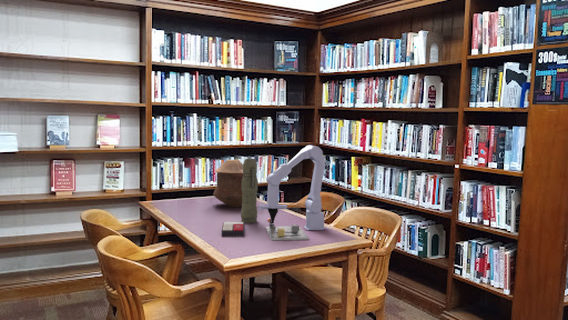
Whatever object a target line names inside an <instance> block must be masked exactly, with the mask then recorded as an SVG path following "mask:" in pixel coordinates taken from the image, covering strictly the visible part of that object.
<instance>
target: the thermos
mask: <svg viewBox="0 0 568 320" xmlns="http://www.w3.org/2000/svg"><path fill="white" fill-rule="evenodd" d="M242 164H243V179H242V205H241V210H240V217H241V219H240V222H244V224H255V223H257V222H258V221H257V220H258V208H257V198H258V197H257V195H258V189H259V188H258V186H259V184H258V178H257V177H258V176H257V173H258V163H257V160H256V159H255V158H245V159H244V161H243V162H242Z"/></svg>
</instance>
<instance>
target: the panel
mask: <svg viewBox="0 0 568 320" xmlns="http://www.w3.org/2000/svg"><path fill="white" fill-rule="evenodd" d="M294 225H298V224H294ZM280 228H284V230H285V236H278V235H277V233H278V229H280ZM265 231H266V232H267V234H268V237H269V238H270V240H271V241H306V240H307V241H308V240H309V236H308V234H306V232H305V230H303V229H302V228H301V226H300V225H298V232H292V231H291V225H290V226H287V225H284V226H283V225H282V226H281V225H279V226H276V225H275V223H273V226H270V224H269V226H265Z"/></svg>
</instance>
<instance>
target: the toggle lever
mask: <svg viewBox="0 0 568 320" xmlns="http://www.w3.org/2000/svg"><path fill="white" fill-rule="evenodd" d="M266 221H267V223H269V224H270V226H273V224H274V223H273V224H272V222H271V218H267V220H266Z"/></svg>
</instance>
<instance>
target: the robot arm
mask: <svg viewBox="0 0 568 320" xmlns="http://www.w3.org/2000/svg"><path fill="white" fill-rule="evenodd" d="M307 159H309V160H311V161H312V163H314V167H313V172H312V179H311V185H310V191H309V193H308V195H307V197H306V200H305V202H304V206H305V208H306V210H305V211H306V212H305V225H303V227H304V229H305V230H306V231H324V230H325V214H324V211H321V210H322V209H323V205H322V197H321V190H322V184H323V178H324V172H325V165H326V160H325V157H324V153H323V150H322V149H321V147H319V146H316V145H313V144H308V145H306V146H305V147H303V148H302V149H300V151H299V152H298V153H297V154H296V155H295V156H293V158H291V159H290V160H289V161H288V162H287V163H282V164H280V165H279V167H278V168H277V169H276V170H273V171H272V173H269V174H268V175H267V177H266V183H267V199H266V200H267V204H258V210H267V212H268V214H269V217H270V219H271V222H272V224H275V223H274V221H275V219H276V216H277V214H278V212H279V210H288V205H287V204H279V203H280V202H279V201H280V199H279V195H280V184H281V182H282V180H283V179H285V178H286V177H287V176H288V175H289V174H290V173H291V172H292V168H294V167H295V166H297V165H298V164H299V163H300V162H301V161H303V160H307Z"/></svg>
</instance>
